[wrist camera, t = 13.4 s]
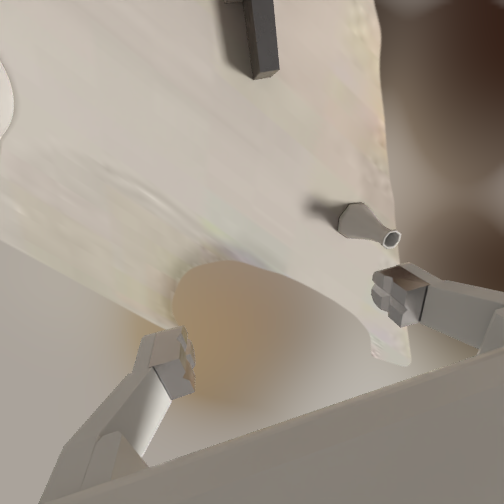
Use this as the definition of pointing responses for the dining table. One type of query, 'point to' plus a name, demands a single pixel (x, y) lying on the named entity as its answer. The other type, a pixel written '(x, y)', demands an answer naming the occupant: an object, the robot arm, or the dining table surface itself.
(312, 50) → the dining table surface
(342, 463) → the robot arm
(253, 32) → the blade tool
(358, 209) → the flask
